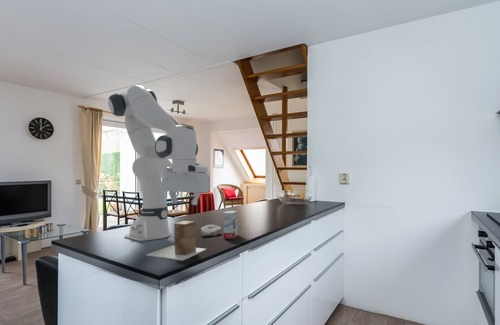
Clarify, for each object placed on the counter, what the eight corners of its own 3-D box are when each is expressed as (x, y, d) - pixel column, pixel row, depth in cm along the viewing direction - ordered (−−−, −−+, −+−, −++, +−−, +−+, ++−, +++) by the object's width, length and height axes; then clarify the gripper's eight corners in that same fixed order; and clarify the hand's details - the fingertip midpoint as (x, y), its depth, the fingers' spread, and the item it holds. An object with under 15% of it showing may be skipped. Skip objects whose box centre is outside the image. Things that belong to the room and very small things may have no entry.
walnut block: (174, 254, 101) (174, 223, 101) (185, 249, 106) (184, 220, 107) (185, 255, 99) (185, 224, 99) (195, 251, 104) (195, 221, 104)
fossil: (225, 228, 134) (209, 223, 127) (220, 241, 132) (205, 237, 125) (214, 224, 140) (199, 219, 133) (209, 237, 138) (194, 232, 132)
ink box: (233, 239, 122) (232, 212, 123) (223, 239, 123) (222, 212, 124) (238, 234, 131) (237, 210, 131) (228, 234, 132) (227, 210, 132)
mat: (146, 255, 101) (146, 254, 101) (172, 246, 114) (172, 245, 114) (182, 260, 94) (182, 259, 94) (206, 249, 107) (206, 248, 107)
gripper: (157, 167, 105) (157, 203, 105) (201, 167, 97) (201, 206, 96) (169, 167, 111) (168, 201, 111) (211, 167, 102) (211, 204, 102)
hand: (184, 204), depth 103 cm, fingers open, 8 cm apart
